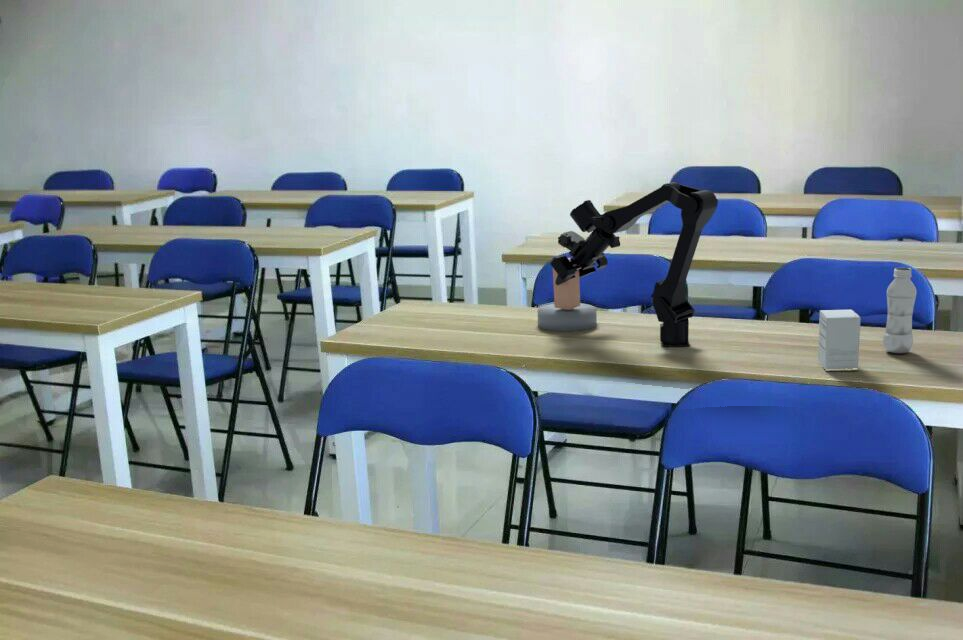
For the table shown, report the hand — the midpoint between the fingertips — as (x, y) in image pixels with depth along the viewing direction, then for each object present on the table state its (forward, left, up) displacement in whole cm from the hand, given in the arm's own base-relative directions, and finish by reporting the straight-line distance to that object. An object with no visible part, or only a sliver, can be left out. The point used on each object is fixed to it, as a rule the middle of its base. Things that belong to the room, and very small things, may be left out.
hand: (562, 282), depth 272 cm
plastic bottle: (-80, +29, -12) cm, 86 cm away
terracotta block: (-1, +1, -7) cm, 7 cm away
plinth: (-1, +1, -11) cm, 12 cm away
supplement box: (-64, +41, -12) cm, 77 cm away
